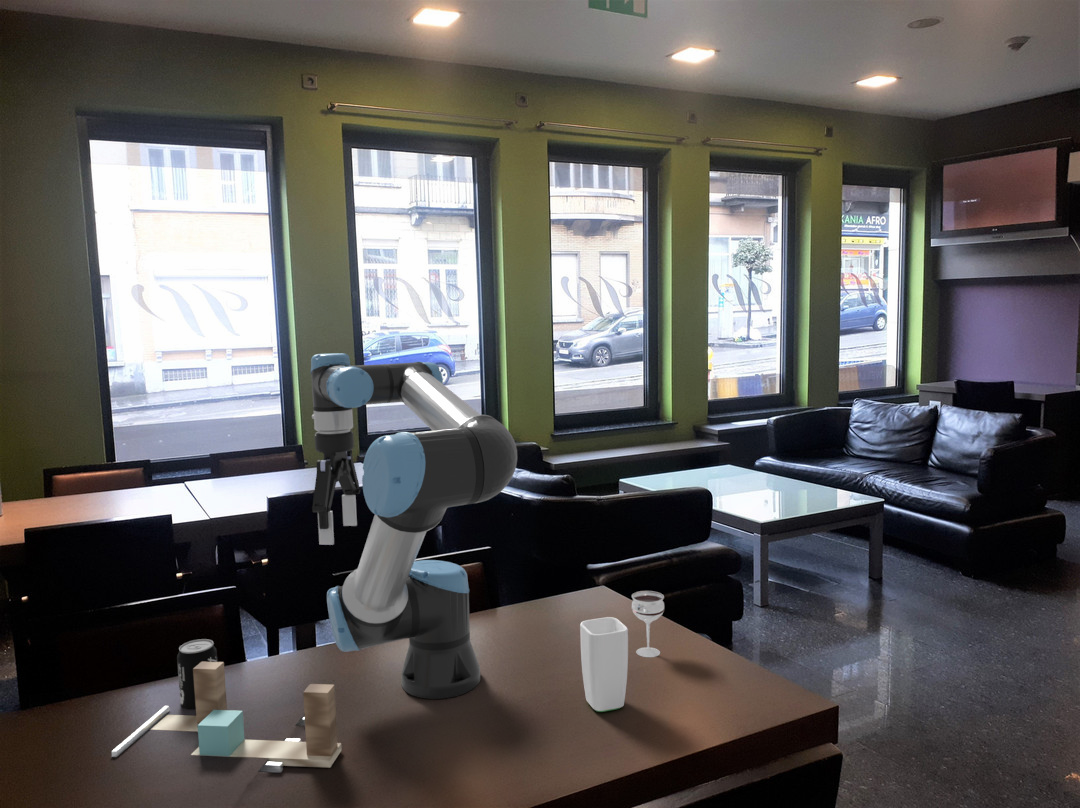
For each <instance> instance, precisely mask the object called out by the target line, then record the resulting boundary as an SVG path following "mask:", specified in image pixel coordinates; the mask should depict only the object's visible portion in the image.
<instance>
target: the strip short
mask: <svg viewBox="0 0 1080 808" xmlns="http://www.w3.org/2000/svg"><path fill="white" fill-rule="evenodd" d="M225 673H226V670H225V662H224V661H217V662H201V663H199V664H198V665H197V666H196V667H194V668H193V676H194V689H195V703H196V709H195V713H196V714H195V715H182V714H166V715H165V716H163V717H162V718H161V719H160V720H159V721H158V722H156V723H155V724H154V725H153V726H152V727H151V728H150V729H149V730H150V731H168V732H169V731H173V732H175V731H176V732H177V731H178V732H197V733H198V724H199V723H200V722H201V721H203V720H204V719H205V718H206V717H207V716H208V715H209V714H210V713H211V712H212V711H213V710H228V702H227V691H226V690H227V689H226V675H225Z"/></svg>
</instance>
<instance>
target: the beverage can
mask: <svg viewBox="0 0 1080 808" xmlns="http://www.w3.org/2000/svg"><path fill="white" fill-rule="evenodd" d="M214 644H215V643H214V641H213V640H212V639H207V638H201V639H193V640H189V641H187V642H184V643H183V644H182V645H179V647H178V650H179V651H178V654H177V655H176V660H177V661H176V662H177V674H178V675H177V676H178V687H179V689H178V690H179V699H180V702H179V703H180V707H181V708H182V709H185V710H193V711H194V710H195V711H196V703H195V689H194V676H193V668H194V667H196V666H197V665H198V664H199V663H201V662H218V654H217V653H218V650H217V648H216V647H215V646H214Z"/></svg>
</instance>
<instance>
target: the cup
mask: <svg viewBox="0 0 1080 808" xmlns="http://www.w3.org/2000/svg"><path fill="white" fill-rule="evenodd" d="M579 624H580V625H579V630H580V633H579V635H580V639H579V640H580V659H581V672H582V680H583V681H582V682H583V687H584V694H585V699H586V702H587V703H588V704H589V705H590V707H591V708H592V709H593V710H594V711H596V712H598V713H603V712H604V713H605V712H610V711H615V710H619V709H620V708H623V707H624V705H625V700H626V699H625V698H626V690H627V681H628V667H629V666H628V665H629V662H628V661H629V629H628V627H627V626H626V625H625V624H624V623H622V622H621V620H619V619H618V618H616V617H612V616H606V617H605V616H604V617H600V618H593V619H587V620H583V621H581V622H580V623H579Z"/></svg>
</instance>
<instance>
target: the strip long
mask: <svg viewBox="0 0 1080 808" xmlns="http://www.w3.org/2000/svg"><path fill="white" fill-rule="evenodd" d="M302 695H303V710H304V711H303V712H304V717H305V726H304V727H305V728H304V729H305V730H304V731H305V741H301V742H297V741H283V740H266V739H245V740H244V741H243V742H242V743H241V744H240V745H239V746H238V747H237V749H236V750H235V751H234V752H233V753H232V754H231V755H230V756H226V757H228V758H229V757H231V758H254V759H259V758H260V759H267V760H266V761H265V762H282V763H283V767H284V766H285V767H286V766H287V767H305V768H306V767H308V768H328V769H329V768H332V766H333V764H334V762H335V761H336V760H337V758H338V756H339V755H340V753H341V752H342V749H343V748H342V743H341V742H338V731H337V730H338V729H337V728H338V727H337V708H336V691H335V684H325V683H324V684H323V683H310V684H309V685H308V686H307V687H306V688H305V690H304V691H303V692H302ZM190 756H202V757H203V756H209V755H200V753H199V746H198V747H197V748H196V749H194V751H193V752H191V754H190ZM209 757H210V756H209Z"/></svg>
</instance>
